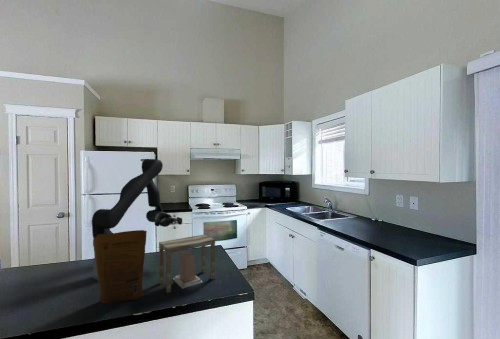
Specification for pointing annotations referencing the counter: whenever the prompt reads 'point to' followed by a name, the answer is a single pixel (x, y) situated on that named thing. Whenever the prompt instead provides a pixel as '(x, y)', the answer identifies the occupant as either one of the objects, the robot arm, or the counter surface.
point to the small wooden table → (184, 245)
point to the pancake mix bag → (120, 265)
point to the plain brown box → (187, 267)
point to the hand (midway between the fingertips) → (173, 223)
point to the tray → (188, 284)
